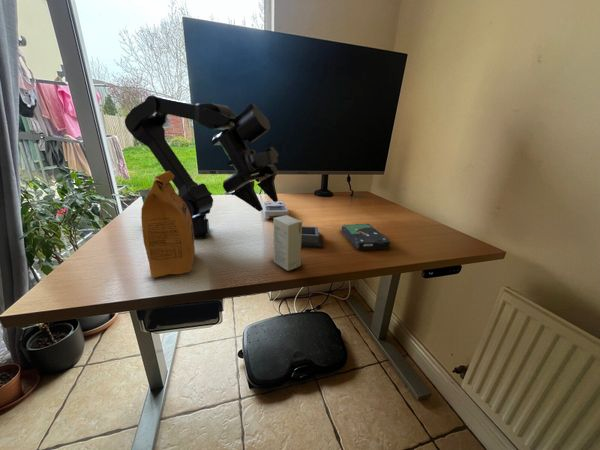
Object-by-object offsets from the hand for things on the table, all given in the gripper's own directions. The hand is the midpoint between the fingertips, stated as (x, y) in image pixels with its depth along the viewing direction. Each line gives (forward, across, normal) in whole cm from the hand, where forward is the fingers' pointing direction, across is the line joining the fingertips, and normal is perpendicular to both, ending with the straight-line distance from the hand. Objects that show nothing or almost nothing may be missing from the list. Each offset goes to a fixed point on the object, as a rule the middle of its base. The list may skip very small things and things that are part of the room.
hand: (269, 205), depth 63 cm
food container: (-17, +11, +49) cm, 53 cm away
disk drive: (+25, +20, -13) cm, 34 cm away
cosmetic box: (+15, -5, +2) cm, 16 cm away
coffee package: (+1, -16, +22) cm, 27 cm away
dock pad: (+15, +11, +2) cm, 18 cm away
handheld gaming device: (+4, +29, +17) cm, 34 cm away
